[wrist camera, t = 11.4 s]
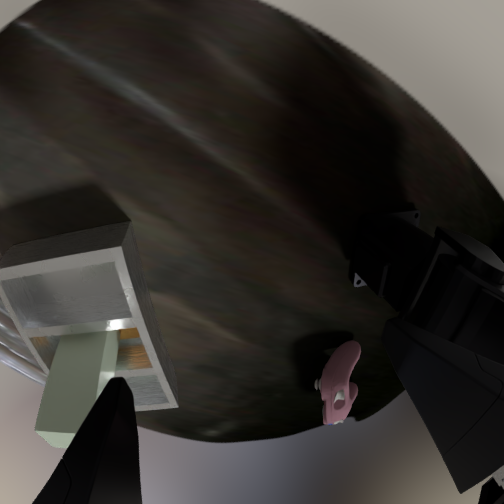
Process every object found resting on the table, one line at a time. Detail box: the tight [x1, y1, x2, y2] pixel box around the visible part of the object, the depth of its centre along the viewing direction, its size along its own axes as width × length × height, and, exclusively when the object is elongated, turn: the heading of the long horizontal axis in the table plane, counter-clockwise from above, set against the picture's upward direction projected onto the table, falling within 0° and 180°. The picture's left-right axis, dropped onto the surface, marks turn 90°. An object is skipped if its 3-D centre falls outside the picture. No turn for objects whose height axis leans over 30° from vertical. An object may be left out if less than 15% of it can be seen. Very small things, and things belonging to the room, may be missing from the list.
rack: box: [0, 221, 179, 411], centre depth 19 cm, size 10×15×4 cm
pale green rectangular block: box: [35, 329, 120, 448], centre depth 15 cm, size 4×2×10 cm, turn 94°
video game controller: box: [315, 340, 361, 425], centre depth 28 cm, size 10×5×7 cm, turn 14°
